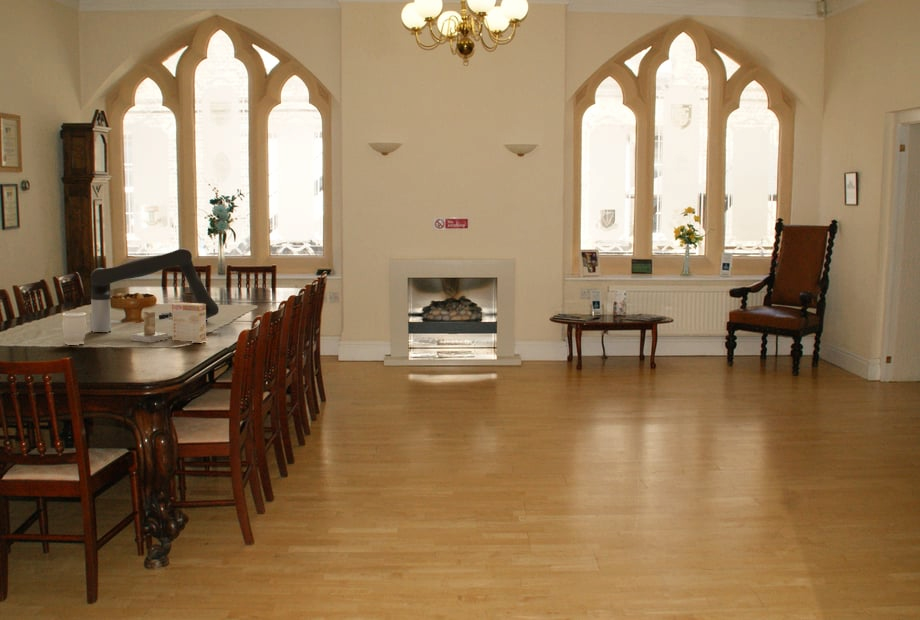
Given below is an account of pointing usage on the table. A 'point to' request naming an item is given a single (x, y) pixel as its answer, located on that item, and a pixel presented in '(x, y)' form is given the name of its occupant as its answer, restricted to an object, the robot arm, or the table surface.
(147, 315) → the peg
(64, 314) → the jar
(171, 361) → the table surface
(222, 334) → the table surface
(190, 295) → the plant pot
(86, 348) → the table surface
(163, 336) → the socket block
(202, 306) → the coffeecake box
